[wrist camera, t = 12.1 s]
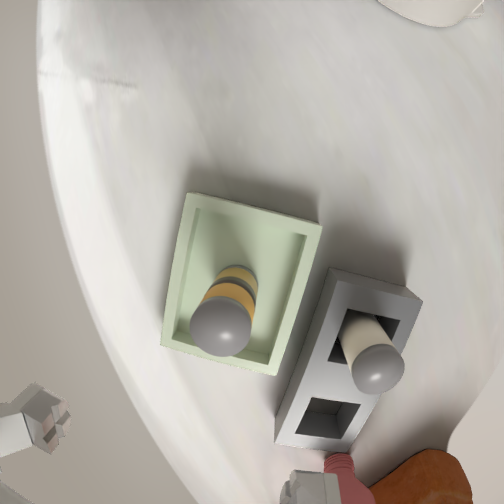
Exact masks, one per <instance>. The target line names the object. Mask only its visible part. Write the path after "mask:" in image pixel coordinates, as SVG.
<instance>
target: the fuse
mask: <svg viewBox="0 0 504 504" xmlns="http://www.w3.org/2000/svg"><path fill="white" fill-rule="evenodd" d="M338 338H339V341H340V343H341V346H342V349H343V352H344V355H345V357H346V360H347V363H348V366H349V369H350V372H351V375H352V378H353V380H354V383H355V386H356V387H357V389H358V390H359V391H361V392H362V393H365V394H369V395H376V394H381V393H384V392H386V391H388V390H390V389H391V388H393V387H394V386H395V385H396V384H397V383H398V382H399V381H400V379H401V377H402V375H403V373H404V361H403V359H402V357H401V355H400V354H399V352H398V351H397V349H396V348H395V346H394V345H393V343H392V342H391V340H390V339H389V337H388V336H387V334H386V333H385V331H384V330H383V328H382V327H381V325H380V324H379V322H378V321H377V319H376V318H375V316H374V315H373V314H371V313H366V312H362V311H357V310H353V309H348V308H347V311H346V313H345V316H344V319H343V322H342V324H341V327H340V330H339V332H338Z"/></svg>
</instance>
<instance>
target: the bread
mask: <svg viewBox="0 0 504 504" xmlns="http://www.w3.org/2000/svg"><path fill="white" fill-rule="evenodd" d="M368 489H369V490H370V491H371V493H372V494H373V496H374V499H375V504H473V501H472V491H471V487H470V484H469V482H468V480H467V477H466V475H465V473H464V471H463V469H462V467H461V465H460V463H459V461H458V460H457V459H456V458H455V457H454V456H452V455H450V454H449V453H446V452H444V451H441V450H432V449H426V450H424V451H422V452H420V453H418V454H416V455H414V456H412V457H410V458H409V459H408V460H407V461H406V462H404V463H403V464H402V465H401V466H399V467H398V468H397V469H396V470H394V471H393V472H392V473H390V474H389V475H387V476H386V477H385V478H383V479H382V480H380V481H379V482H377V483H376V484H374V485H373V486H371V487H370V488H368Z"/></svg>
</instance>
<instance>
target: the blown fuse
mask: <svg viewBox="0 0 504 504" xmlns="http://www.w3.org/2000/svg"><path fill="white" fill-rule="evenodd" d="M257 293H258V280H257V277H256V275H255V274H254V273H253V272H252V271H251V270H250V269H249V268H247V267H245V266H242V265H230V266H227V267H225V268H224V269H222V270H221V271H220V272H219V274H218V275H217V277H216V279H215V280H214V282H213V283H212V285H211V286H210V287H209V289H208V291H207V292H206V294H205V295H204V297H203V299H202V301H201V302H200V304H199V305H198V307H197V309H196V310H195V312H194V313H193V315H192V317H191V320H190V325H189V328H190V334H191V337H192V339H193V341H194V342H195V344H196V345H197V346H198V347H199V348H200V349H201V350H203V351H204V352H206V353H208V354H210V355H213V356H218V357H228V356H232V355H235V354H237V353H239V352H240V351H242V350H243V349H244V348H245V347H246V345H247V344H248V342H249V339H250V334H251V329H252V323H253V317H254V313H255V307H256V299H257Z"/></svg>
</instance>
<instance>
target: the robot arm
mask: <svg viewBox="0 0 504 504" xmlns="http://www.w3.org/2000/svg"><path fill="white" fill-rule="evenodd" d="M378 1H379V2H380V3H382V4H383V5H384V6H386V7H388V8H389V9H391V10H392V11H394V12H396V13H398V14H400V15H402V16H404V17H406V18H408V19H410V20H413V21H415V22H418V23H421V24H425V25H429V26H435V27H447V26H452V25H455V24H457V23H458V22H460V21H461V20H462V19H464V18H479V17H480V16H481V15H482V14H483V13H484V9H483V5H482V2H483V1H484V0H378ZM68 408H69V404H68V401H67V400H65V399H63V398H61V397H60V396H58V395H56V394H54V393H52V392H51V391H49V390H48V389H46V388H44V387H42V386H41V385H39V384H37V383H32V384H30V385H29V386H28V387H27V388H26V389H25V390H24V391H23V392H22V393H21V394H19V395H18V396H17V397H16V398H15V399H14V400H13V401H12V402H11V403H10V404H9V403H7V402H5V403H0V457H3V456H6V455H8V454H11V453H14V452H17V451H19V450H22V449H25V448H27V447H30V446H32V445H35V446H37V447H38V448H40V449H42V450H44V451H45V452H47V453H49V454H51V453H52V452H53V451H54V450H55V448H56V447H57V446H58V445H59V439H58V438H61V437H64V436H65V435H66V434H67V433H68V431H69V428H70V426H71V416H70V414H69V413H68V411H67V409H68ZM1 472H2V469H1V467H0V473H1ZM0 504H34V503H32V502H31V501H29V500H28V499H26V498H25V497H23V496H22V495H20V494H19V493H17V492H15V490H13V489H11V488H10V487H9V486H7V485H6V484H5V483H3V482H2V481H1V480H0ZM280 504H341V497H340V491H339V484H338V478H337V475H336V474H334V473H321V472H312V471H301V470H293V471H292V472H291V474H290V480H289V481H286V482H285V484H284V485H283V488H282V491H281V494H280Z"/></svg>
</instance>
